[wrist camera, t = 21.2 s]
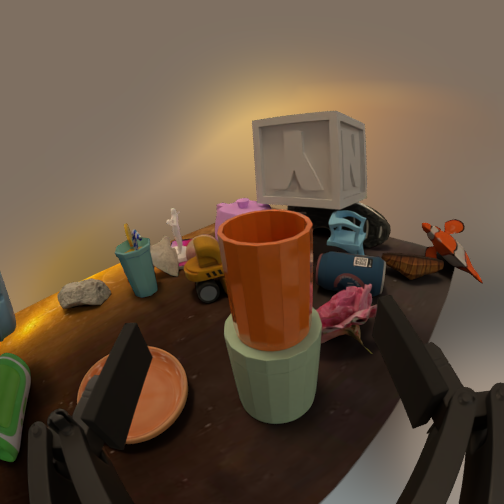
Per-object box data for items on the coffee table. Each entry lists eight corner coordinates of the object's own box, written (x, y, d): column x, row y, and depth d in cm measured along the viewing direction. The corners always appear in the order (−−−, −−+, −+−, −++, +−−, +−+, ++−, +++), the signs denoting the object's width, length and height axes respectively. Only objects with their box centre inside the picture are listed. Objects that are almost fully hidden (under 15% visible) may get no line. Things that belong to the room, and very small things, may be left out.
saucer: (91, 460, 21) (78, 450, 20) (85, 373, 34) (76, 360, 33) (210, 429, 27) (204, 418, 25) (176, 346, 40) (170, 332, 39)
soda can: (379, 305, 45) (315, 295, 50) (383, 275, 49) (324, 267, 54) (384, 280, 40) (313, 270, 45) (387, 249, 44) (322, 242, 49)
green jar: (304, 431, 26) (309, 368, 20) (229, 412, 29) (207, 347, 24) (321, 372, 33) (328, 300, 28) (256, 360, 37) (246, 290, 31)
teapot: (204, 250, 70) (195, 201, 64) (240, 233, 77) (234, 188, 71) (262, 274, 56) (256, 215, 51) (299, 251, 64) (296, 198, 58)
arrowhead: (138, 245, 58) (158, 286, 57) (142, 241, 57) (162, 282, 56) (167, 236, 64) (186, 273, 64) (171, 231, 63) (191, 270, 62)
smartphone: (161, 268, 62) (171, 240, 75) (162, 271, 62) (172, 243, 75) (192, 265, 62) (197, 237, 75) (193, 269, 62) (198, 241, 76)
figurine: (167, 248, 69) (161, 203, 63) (194, 247, 69) (191, 202, 63) (162, 263, 63) (155, 215, 57) (191, 262, 63) (187, 213, 57)
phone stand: (360, 282, 50) (366, 222, 45) (320, 274, 54) (321, 216, 49) (368, 263, 56) (372, 209, 50) (332, 256, 60) (333, 204, 54)
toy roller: (269, 287, 52) (263, 235, 47) (194, 308, 49) (179, 257, 44) (254, 266, 59) (247, 220, 55) (189, 284, 56) (176, 238, 52)
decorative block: (299, 193, 75) (295, 122, 68) (366, 198, 63) (364, 118, 57) (257, 203, 61) (251, 114, 54) (340, 210, 49) (335, 102, 43)
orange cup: (301, 358, 21) (300, 249, 17) (222, 342, 24) (200, 241, 20) (317, 305, 27) (318, 211, 23) (251, 297, 30) (240, 208, 25)
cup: (178, 298, 52) (159, 225, 45) (143, 315, 48) (118, 241, 41) (151, 273, 62) (135, 212, 55) (122, 286, 58) (102, 225, 51)
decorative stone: (68, 323, 46) (57, 303, 44) (60, 302, 53) (52, 284, 51) (115, 298, 53) (107, 278, 51) (102, 281, 61) (95, 263, 58)
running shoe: (384, 212, 53) (402, 204, 59) (284, 186, 73) (311, 182, 80) (376, 260, 58) (395, 246, 64) (284, 226, 78) (309, 217, 85)
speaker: (-18, 452, 14) (24, 469, 17) (-35, 428, 12) (11, 448, 15) (1, 373, 29) (35, 385, 32) (-6, 345, 27) (30, 357, 30)
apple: (197, 284, 59) (176, 256, 55) (201, 265, 66) (182, 239, 62) (229, 269, 58) (209, 239, 54) (230, 251, 64) (212, 223, 61)
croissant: (447, 257, 42) (444, 284, 41) (442, 259, 47) (439, 283, 47) (381, 249, 48) (377, 275, 48) (383, 252, 54) (380, 275, 54)
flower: (301, 347, 42) (303, 285, 43) (361, 345, 41) (362, 284, 43) (312, 366, 31) (314, 282, 32) (387, 360, 30) (391, 281, 31)
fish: (437, 198, 43) (438, 204, 55) (402, 247, 49) (410, 243, 61) (505, 265, 35) (493, 257, 46) (466, 313, 41) (462, 295, 52)
